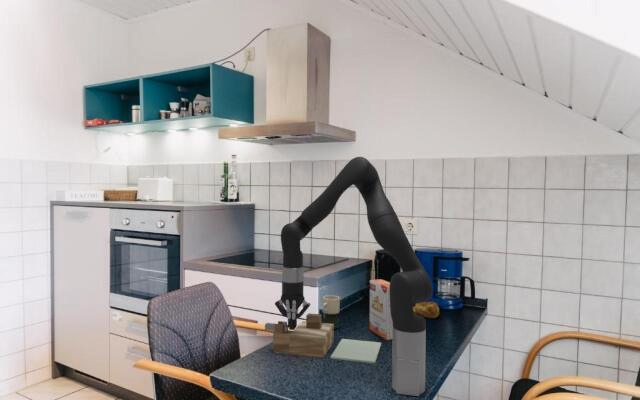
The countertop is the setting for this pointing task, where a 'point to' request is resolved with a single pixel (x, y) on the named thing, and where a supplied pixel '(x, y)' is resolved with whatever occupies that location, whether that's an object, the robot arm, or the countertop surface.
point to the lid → (312, 328)
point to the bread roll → (426, 309)
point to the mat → (357, 351)
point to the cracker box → (380, 309)
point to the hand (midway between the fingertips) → (292, 329)
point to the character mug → (331, 309)
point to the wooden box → (300, 343)
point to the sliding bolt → (272, 326)
